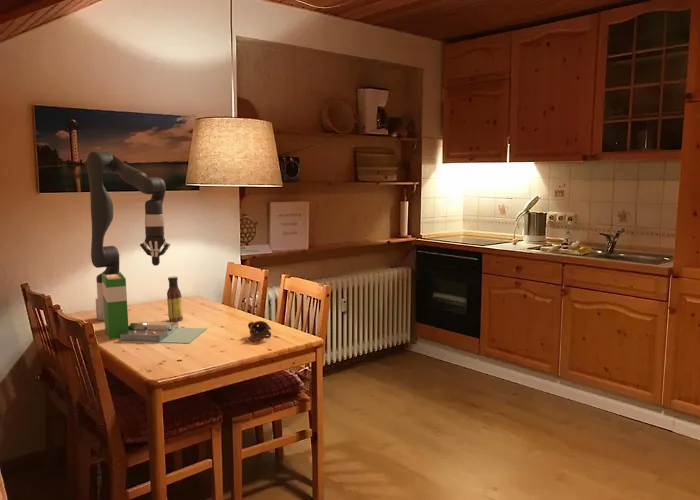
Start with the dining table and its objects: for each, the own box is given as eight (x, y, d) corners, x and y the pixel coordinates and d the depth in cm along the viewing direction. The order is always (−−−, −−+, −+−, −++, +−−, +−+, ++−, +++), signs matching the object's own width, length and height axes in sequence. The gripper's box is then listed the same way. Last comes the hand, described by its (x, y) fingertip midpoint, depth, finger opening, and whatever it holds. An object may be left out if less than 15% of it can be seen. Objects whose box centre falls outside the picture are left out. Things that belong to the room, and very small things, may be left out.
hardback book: (105, 328, 253) (101, 273, 250) (123, 326, 257) (120, 272, 253) (109, 339, 238) (105, 280, 234) (129, 336, 241) (125, 278, 238)
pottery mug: (278, 338, 242) (275, 324, 236) (261, 352, 236) (258, 338, 231) (256, 326, 248) (253, 312, 243) (240, 340, 242) (237, 326, 237)
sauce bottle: (185, 318, 271) (183, 275, 269) (179, 322, 265) (178, 278, 262) (171, 318, 272) (169, 275, 269) (165, 321, 266) (164, 278, 263)
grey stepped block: (118, 340, 235) (117, 329, 234) (131, 332, 247) (131, 321, 246) (161, 341, 233) (161, 330, 233) (173, 333, 245) (172, 322, 245)
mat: (119, 341, 234) (119, 341, 234) (143, 327, 256) (143, 326, 256) (189, 343, 232) (189, 342, 232) (207, 328, 254) (207, 328, 254)
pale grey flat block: (129, 334, 242) (128, 324, 242) (142, 327, 254) (141, 317, 254) (167, 335, 241) (166, 325, 240) (178, 328, 253) (177, 317, 252)
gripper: (135, 225, 248) (137, 266, 250) (166, 225, 247) (167, 266, 249) (143, 224, 255) (144, 263, 258) (172, 224, 254) (174, 264, 257)
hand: (156, 265), depth 253 cm, fingers closed
